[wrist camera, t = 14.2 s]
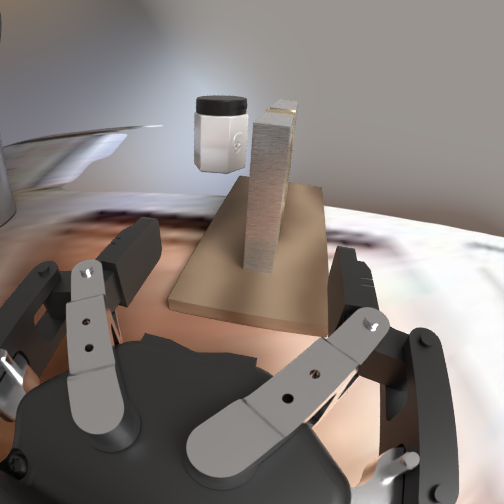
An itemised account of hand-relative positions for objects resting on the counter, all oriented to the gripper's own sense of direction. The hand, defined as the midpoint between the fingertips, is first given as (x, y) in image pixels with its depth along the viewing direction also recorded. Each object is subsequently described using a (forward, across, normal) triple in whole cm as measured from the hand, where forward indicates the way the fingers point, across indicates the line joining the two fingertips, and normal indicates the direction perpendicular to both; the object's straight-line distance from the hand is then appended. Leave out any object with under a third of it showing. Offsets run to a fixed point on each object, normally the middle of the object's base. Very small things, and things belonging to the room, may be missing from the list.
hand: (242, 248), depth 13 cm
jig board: (+17, 0, +9) cm, 19 cm away
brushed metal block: (+13, 0, +8) cm, 15 cm away
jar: (+37, +11, +10) cm, 40 cm away
